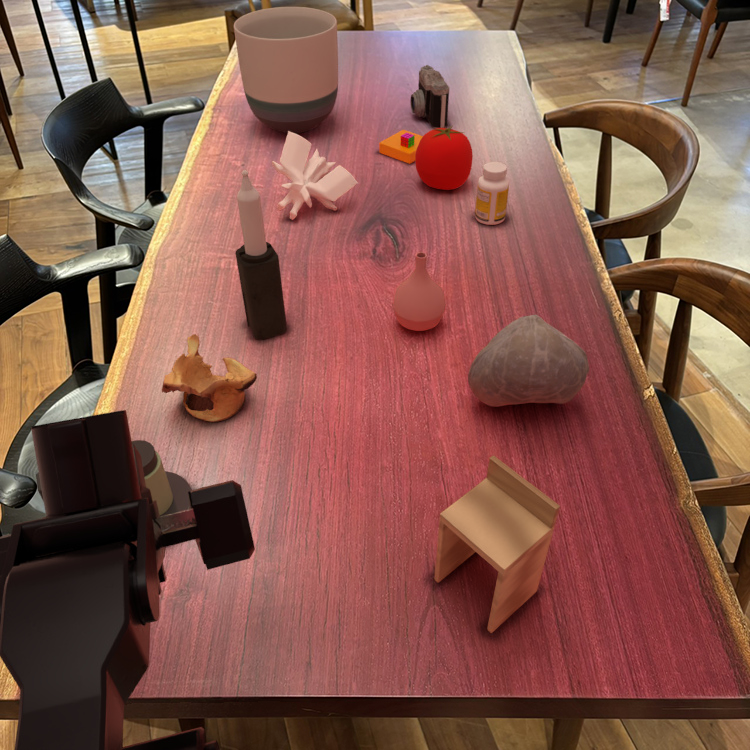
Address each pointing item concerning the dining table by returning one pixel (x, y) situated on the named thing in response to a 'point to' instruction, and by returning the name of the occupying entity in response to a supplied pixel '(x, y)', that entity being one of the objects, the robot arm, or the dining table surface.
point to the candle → (258, 268)
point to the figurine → (310, 176)
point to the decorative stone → (528, 365)
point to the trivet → (177, 498)
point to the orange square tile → (401, 146)
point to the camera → (431, 97)
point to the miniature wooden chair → (499, 536)
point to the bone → (209, 383)
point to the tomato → (444, 158)
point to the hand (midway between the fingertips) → (140, 531)
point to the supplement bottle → (492, 194)
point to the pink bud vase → (419, 299)
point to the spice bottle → (155, 475)
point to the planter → (289, 66)
